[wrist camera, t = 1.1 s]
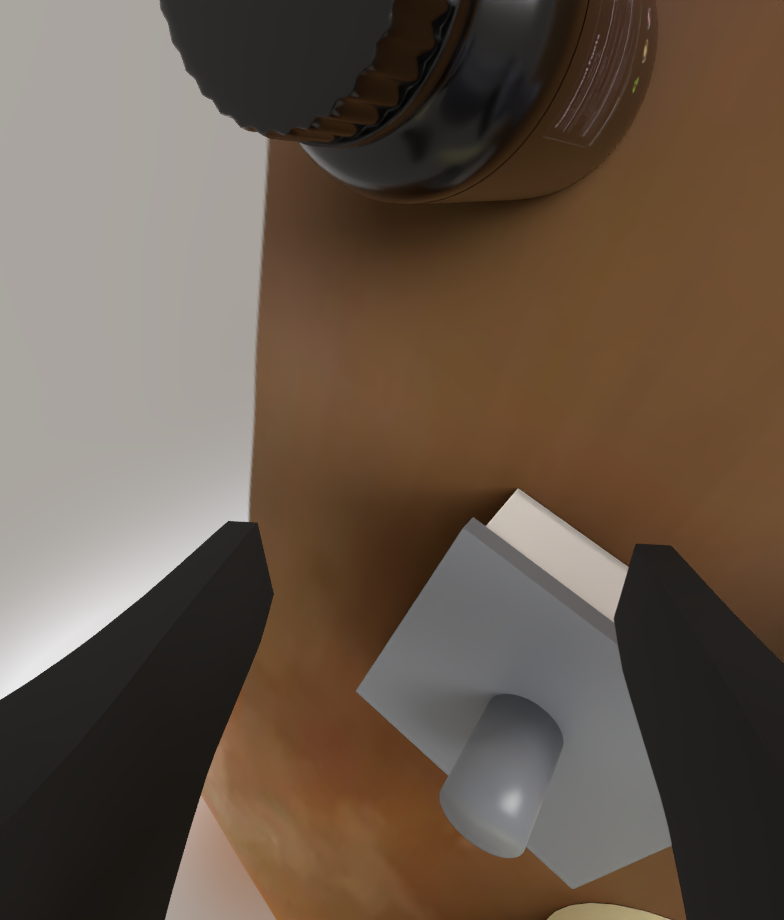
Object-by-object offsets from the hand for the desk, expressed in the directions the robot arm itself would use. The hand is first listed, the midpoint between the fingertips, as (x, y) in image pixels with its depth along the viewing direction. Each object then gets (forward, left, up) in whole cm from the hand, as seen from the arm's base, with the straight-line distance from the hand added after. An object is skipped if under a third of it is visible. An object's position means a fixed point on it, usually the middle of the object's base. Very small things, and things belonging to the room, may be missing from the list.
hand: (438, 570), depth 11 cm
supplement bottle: (+7, -8, -12) cm, 16 cm away
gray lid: (-5, +10, -7) cm, 14 cm away
